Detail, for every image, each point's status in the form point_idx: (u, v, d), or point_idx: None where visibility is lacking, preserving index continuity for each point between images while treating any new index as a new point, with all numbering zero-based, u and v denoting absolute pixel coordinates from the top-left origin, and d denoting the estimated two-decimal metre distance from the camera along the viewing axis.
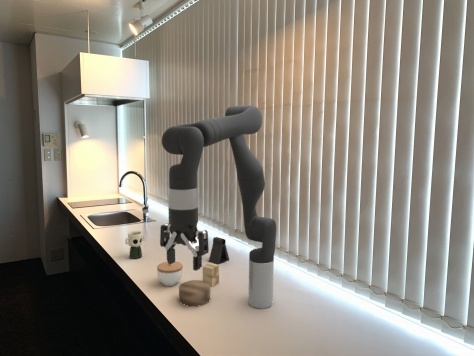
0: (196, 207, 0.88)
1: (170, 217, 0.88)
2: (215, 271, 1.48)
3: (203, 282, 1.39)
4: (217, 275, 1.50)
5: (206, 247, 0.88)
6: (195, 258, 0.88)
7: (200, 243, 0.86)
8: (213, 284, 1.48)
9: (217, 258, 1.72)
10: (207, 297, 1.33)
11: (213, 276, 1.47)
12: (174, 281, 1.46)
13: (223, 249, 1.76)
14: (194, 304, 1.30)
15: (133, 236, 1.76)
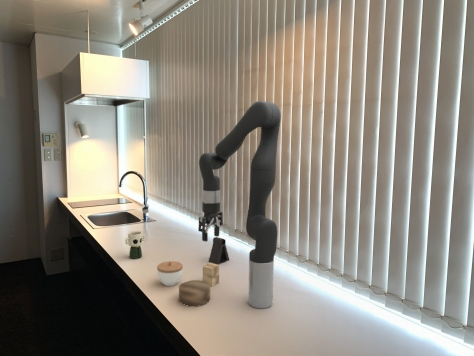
0: None
1: (216, 208, 1.43)
2: (215, 271, 1.48)
3: (203, 282, 1.39)
4: (217, 275, 1.50)
5: None
6: None
7: (221, 218, 1.52)
8: (213, 284, 1.48)
9: (217, 258, 1.72)
10: (207, 297, 1.33)
11: (213, 276, 1.47)
12: (174, 281, 1.46)
13: (223, 249, 1.76)
14: (194, 304, 1.30)
15: (133, 236, 1.76)
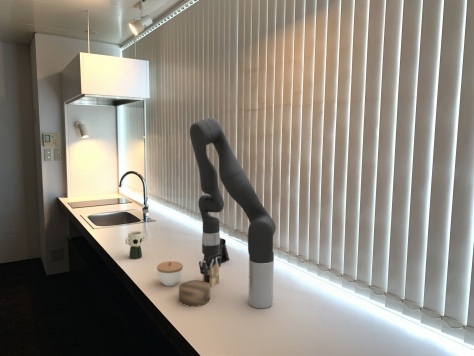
0: None
1: (216, 250, 1.45)
2: (215, 271, 1.48)
3: (203, 282, 1.39)
4: (217, 275, 1.50)
5: None
6: None
7: (220, 260, 1.53)
8: (213, 284, 1.48)
9: None
10: (207, 297, 1.33)
11: (213, 276, 1.47)
12: (174, 281, 1.46)
13: (223, 249, 1.76)
14: (194, 304, 1.30)
15: (133, 236, 1.76)
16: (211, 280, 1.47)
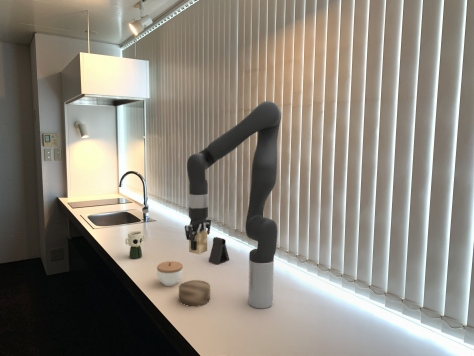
0: None
1: (203, 213, 1.32)
2: (203, 237, 1.35)
3: (203, 282, 1.39)
4: (205, 242, 1.36)
5: None
6: None
7: (209, 226, 1.40)
8: (200, 251, 1.34)
9: (217, 258, 1.72)
10: (207, 297, 1.33)
11: (200, 242, 1.34)
12: (174, 281, 1.46)
13: (223, 249, 1.76)
14: (194, 304, 1.30)
15: (133, 236, 1.76)
16: (198, 247, 1.34)
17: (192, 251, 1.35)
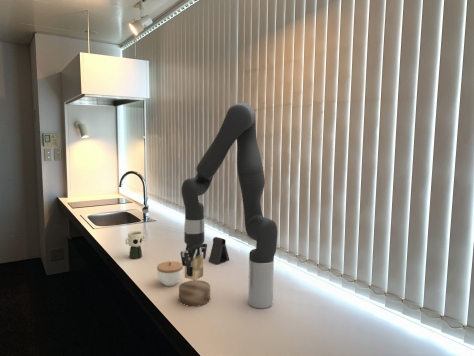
0: None
1: (199, 239, 1.30)
2: (199, 263, 1.32)
3: (203, 282, 1.39)
4: (201, 267, 1.34)
5: None
6: None
7: (205, 251, 1.38)
8: (196, 277, 1.32)
9: (217, 258, 1.72)
10: (207, 297, 1.33)
11: (196, 268, 1.31)
12: (174, 281, 1.46)
13: (223, 249, 1.76)
14: (194, 304, 1.30)
15: (133, 236, 1.76)
16: (194, 273, 1.31)
17: (188, 277, 1.33)
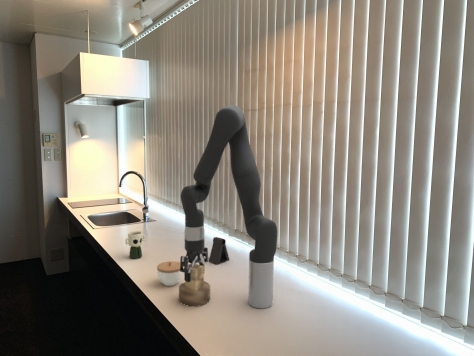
0: None
1: (199, 246, 1.30)
2: (199, 273, 1.33)
3: None
4: (201, 277, 1.35)
5: (203, 257, 1.40)
6: None
7: (207, 254, 1.39)
8: (197, 287, 1.33)
9: (217, 258, 1.72)
10: (207, 297, 1.33)
11: (197, 278, 1.32)
12: (174, 281, 1.46)
13: (223, 249, 1.76)
14: (194, 304, 1.30)
15: (133, 236, 1.76)
16: (194, 283, 1.32)
17: (188, 287, 1.34)
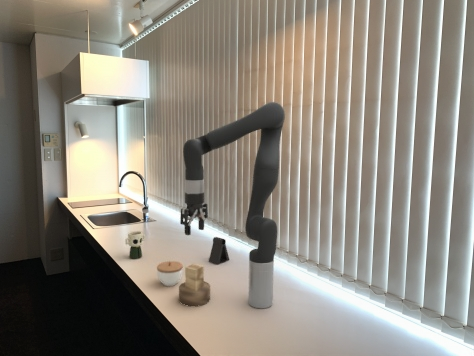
0: None
1: (200, 199, 1.32)
2: (199, 273, 1.33)
3: None
4: (201, 277, 1.35)
5: None
6: None
7: (206, 210, 1.40)
8: (197, 287, 1.33)
9: (217, 258, 1.72)
10: (207, 297, 1.33)
11: (197, 278, 1.32)
12: (174, 281, 1.46)
13: (223, 249, 1.76)
14: (194, 304, 1.30)
15: (133, 236, 1.76)
16: (194, 283, 1.32)
17: (188, 287, 1.34)
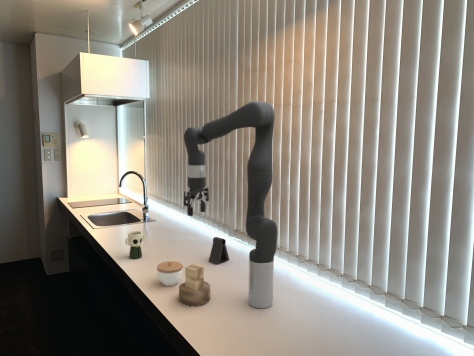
0: None
1: (201, 183, 1.43)
2: (199, 273, 1.33)
3: None
4: (201, 277, 1.35)
5: (204, 197, 1.53)
6: None
7: (207, 194, 1.52)
8: (197, 287, 1.33)
9: (217, 258, 1.72)
10: (207, 297, 1.33)
11: (197, 278, 1.32)
12: (174, 281, 1.46)
13: (223, 249, 1.76)
14: (194, 304, 1.30)
15: (133, 236, 1.76)
16: (194, 283, 1.32)
17: (188, 287, 1.34)
